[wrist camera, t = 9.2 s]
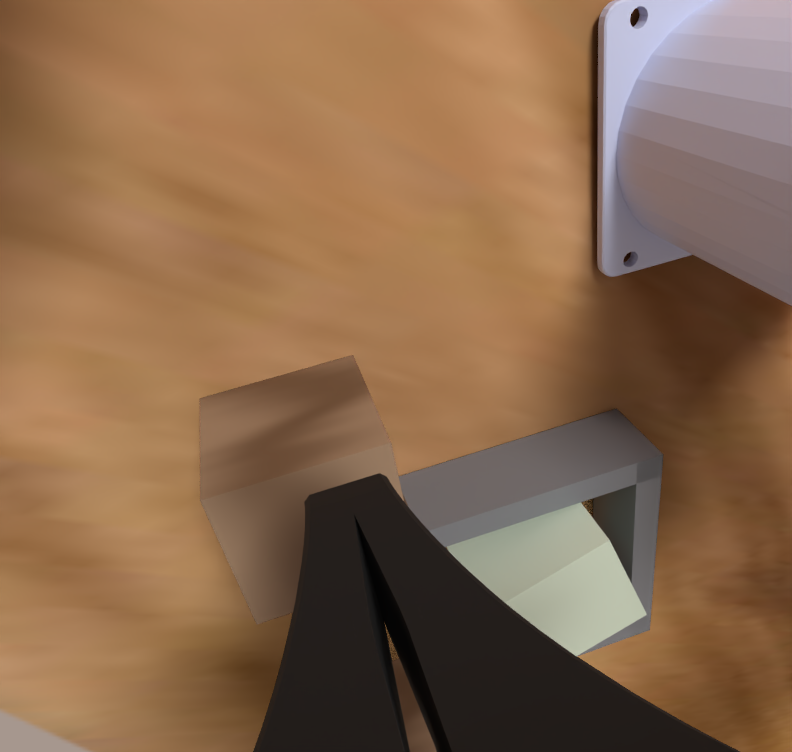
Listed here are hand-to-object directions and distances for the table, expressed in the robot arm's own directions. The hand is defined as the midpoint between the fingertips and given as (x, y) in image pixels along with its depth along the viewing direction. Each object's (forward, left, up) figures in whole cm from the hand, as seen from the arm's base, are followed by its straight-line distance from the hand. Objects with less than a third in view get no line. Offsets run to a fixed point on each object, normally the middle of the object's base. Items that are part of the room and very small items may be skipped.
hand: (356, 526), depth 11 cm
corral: (-7, +13, -10) cm, 18 cm away
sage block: (-6, +12, -10) cm, 17 cm away
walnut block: (+1, +5, -10) cm, 11 cm away
